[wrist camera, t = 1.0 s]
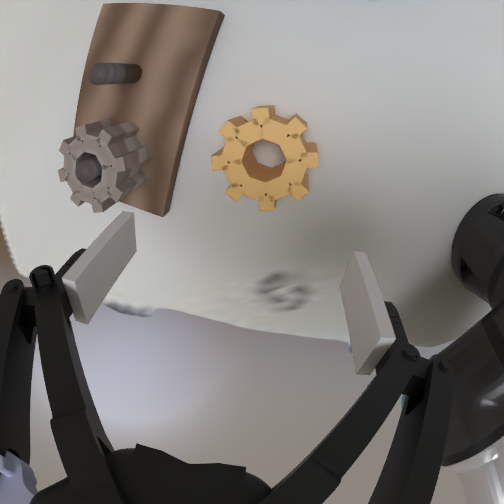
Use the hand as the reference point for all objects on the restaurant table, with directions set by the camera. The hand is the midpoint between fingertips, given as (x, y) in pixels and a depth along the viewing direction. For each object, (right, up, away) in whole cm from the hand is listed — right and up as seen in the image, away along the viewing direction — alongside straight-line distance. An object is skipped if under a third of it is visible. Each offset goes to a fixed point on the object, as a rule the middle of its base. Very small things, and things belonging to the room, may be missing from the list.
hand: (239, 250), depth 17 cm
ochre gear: (+3, +11, +15) cm, 19 cm away
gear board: (-14, +18, +14) cm, 27 cm away
